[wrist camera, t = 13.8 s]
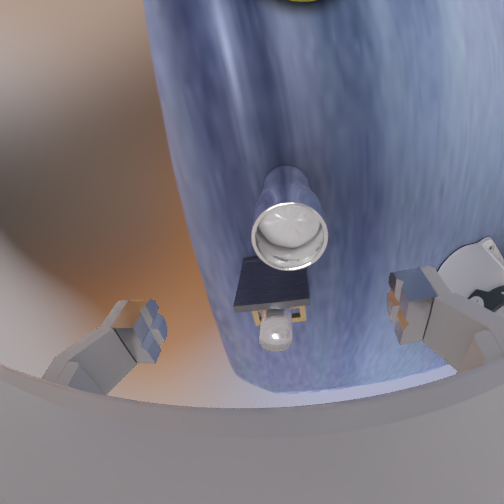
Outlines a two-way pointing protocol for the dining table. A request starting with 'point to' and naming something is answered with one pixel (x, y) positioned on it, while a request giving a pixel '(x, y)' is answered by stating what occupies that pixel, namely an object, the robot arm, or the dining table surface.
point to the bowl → (302, 0)
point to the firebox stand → (270, 289)
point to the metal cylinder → (276, 329)
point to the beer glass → (288, 221)
